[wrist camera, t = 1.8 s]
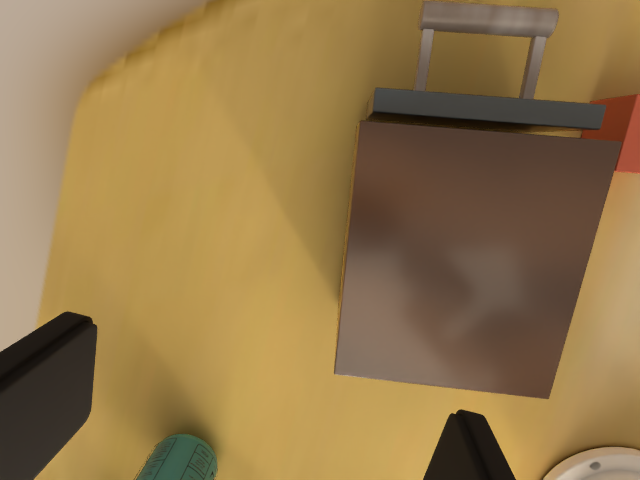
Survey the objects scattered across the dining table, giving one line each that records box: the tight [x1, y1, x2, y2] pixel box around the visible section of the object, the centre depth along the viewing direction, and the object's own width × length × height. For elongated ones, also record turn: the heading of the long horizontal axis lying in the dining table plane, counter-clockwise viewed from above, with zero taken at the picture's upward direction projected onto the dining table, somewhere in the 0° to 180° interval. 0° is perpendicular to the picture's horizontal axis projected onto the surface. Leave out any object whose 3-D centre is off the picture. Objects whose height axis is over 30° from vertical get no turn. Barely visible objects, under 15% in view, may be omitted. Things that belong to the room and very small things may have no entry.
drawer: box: [366, 0, 606, 132], centre depth 24 cm, size 18×11×8 cm, turn 175°
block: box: [581, 94, 640, 174], centre depth 25 cm, size 4×4×4 cm
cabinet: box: [334, 121, 622, 399], centre depth 25 cm, size 15×13×10 cm
